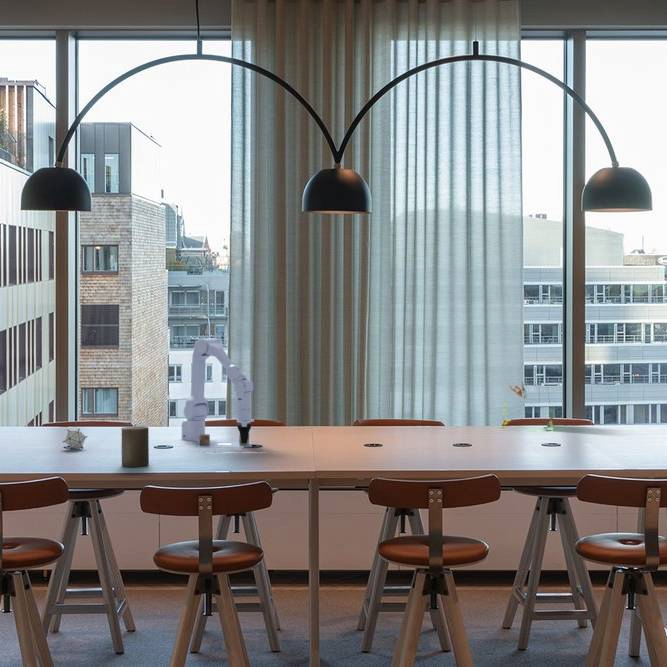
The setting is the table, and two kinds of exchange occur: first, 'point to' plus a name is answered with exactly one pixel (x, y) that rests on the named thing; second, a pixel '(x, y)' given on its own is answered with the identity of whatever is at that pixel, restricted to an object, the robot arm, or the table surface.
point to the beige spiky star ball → (75, 439)
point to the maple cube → (243, 443)
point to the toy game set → (526, 398)
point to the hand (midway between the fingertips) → (244, 442)
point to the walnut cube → (204, 439)
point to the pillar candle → (135, 446)
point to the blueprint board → (223, 444)
